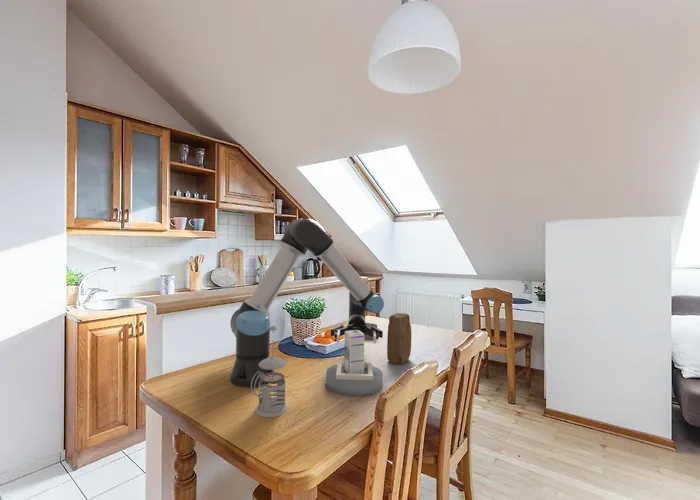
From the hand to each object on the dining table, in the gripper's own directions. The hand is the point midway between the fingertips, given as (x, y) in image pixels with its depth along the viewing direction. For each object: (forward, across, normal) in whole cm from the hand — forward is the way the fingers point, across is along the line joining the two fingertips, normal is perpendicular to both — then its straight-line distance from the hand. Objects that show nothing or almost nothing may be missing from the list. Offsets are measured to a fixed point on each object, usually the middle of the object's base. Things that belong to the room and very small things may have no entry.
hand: (356, 339), depth 126 cm
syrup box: (+4, +1, -11) cm, 12 cm away
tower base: (+4, 0, -15) cm, 15 cm away
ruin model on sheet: (-55, -5, -16) cm, 57 cm away
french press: (+25, +25, -15) cm, 39 cm away
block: (-21, -18, -15) cm, 32 cm away
